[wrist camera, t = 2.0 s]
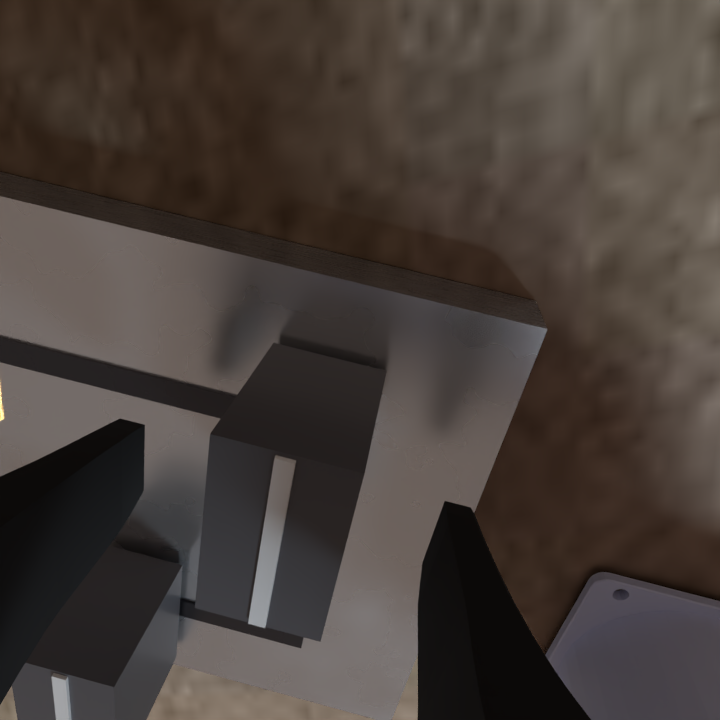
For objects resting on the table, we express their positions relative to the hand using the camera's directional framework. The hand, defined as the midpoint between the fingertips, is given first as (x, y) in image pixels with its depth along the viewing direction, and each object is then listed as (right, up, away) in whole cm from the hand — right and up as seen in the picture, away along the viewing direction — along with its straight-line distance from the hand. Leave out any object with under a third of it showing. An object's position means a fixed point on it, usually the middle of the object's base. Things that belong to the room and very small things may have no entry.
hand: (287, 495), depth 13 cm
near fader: (0, +1, +2) cm, 3 cm away
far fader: (-6, -6, +7) cm, 11 cm away
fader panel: (-4, 0, +6) cm, 7 cm away
